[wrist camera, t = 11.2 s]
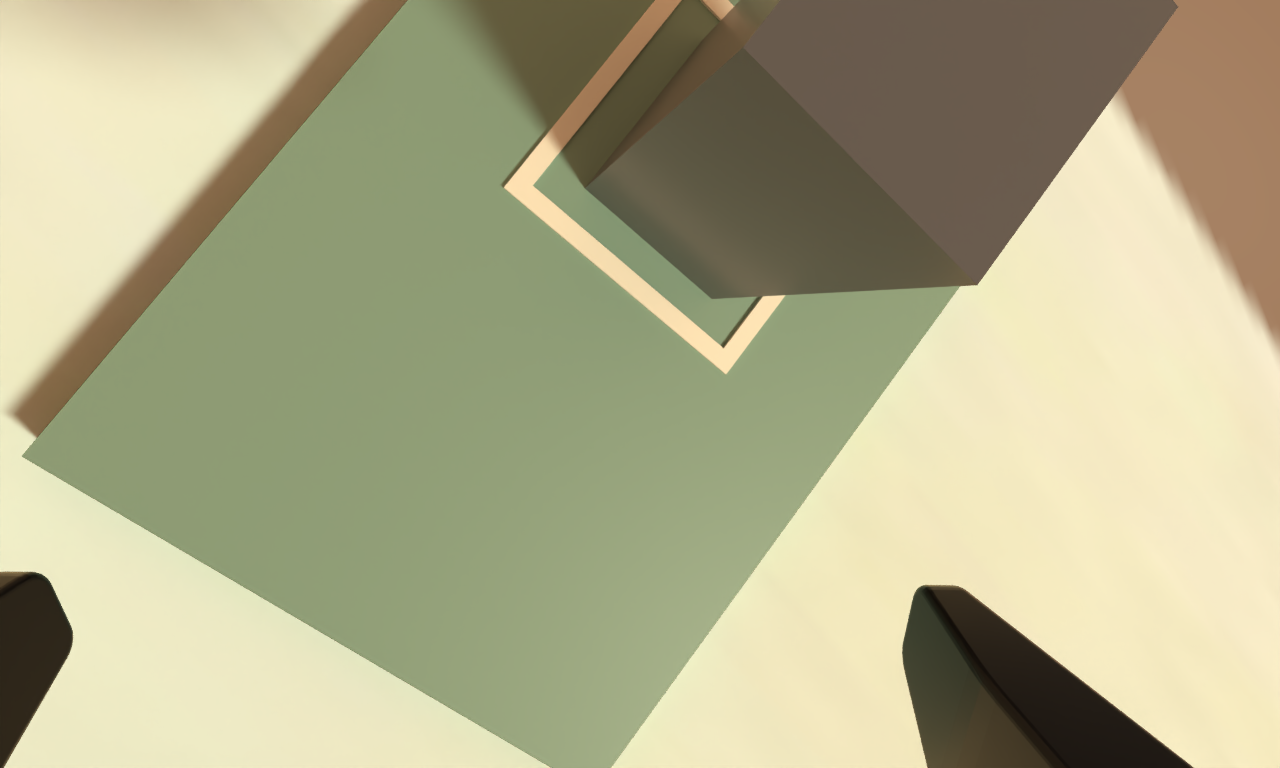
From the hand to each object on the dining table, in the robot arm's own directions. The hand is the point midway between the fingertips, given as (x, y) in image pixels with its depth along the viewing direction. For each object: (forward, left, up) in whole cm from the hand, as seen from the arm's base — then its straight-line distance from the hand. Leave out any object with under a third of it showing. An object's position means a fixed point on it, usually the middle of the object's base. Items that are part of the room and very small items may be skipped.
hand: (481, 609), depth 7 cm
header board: (+4, -1, -12) cm, 13 cm away
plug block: (+9, -2, -11) cm, 14 cm away
